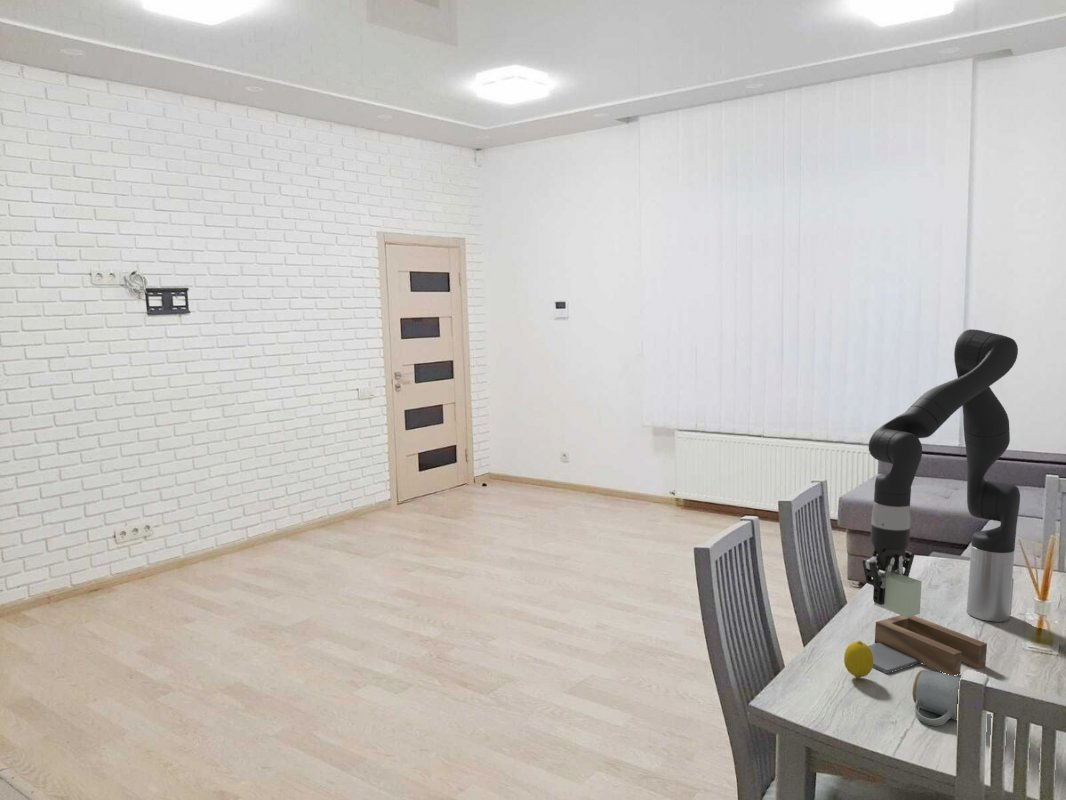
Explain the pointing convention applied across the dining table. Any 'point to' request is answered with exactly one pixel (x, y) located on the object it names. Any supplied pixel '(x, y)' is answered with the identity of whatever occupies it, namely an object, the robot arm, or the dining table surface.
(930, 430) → the robot arm
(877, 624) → the rail
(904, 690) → the dining table surface
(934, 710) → the ceramic mug
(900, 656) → the slate coaster
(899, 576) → the sage block
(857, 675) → the lemon
